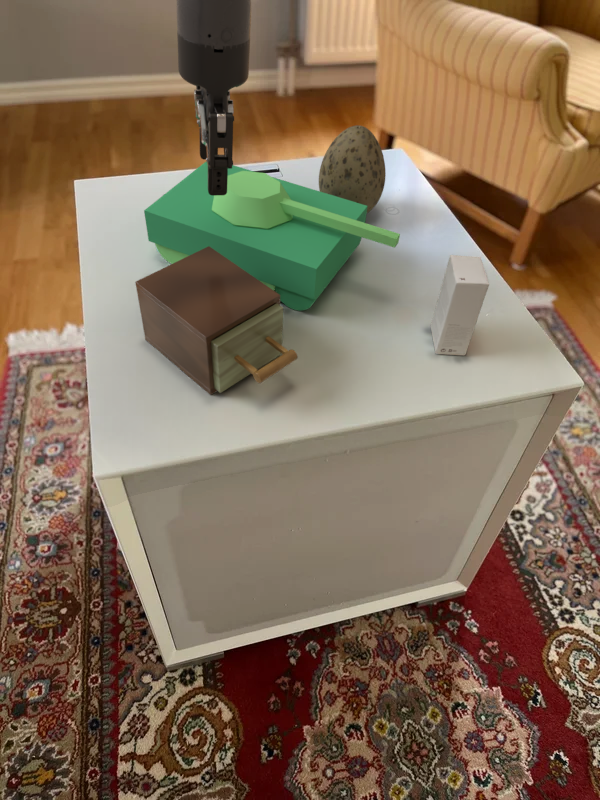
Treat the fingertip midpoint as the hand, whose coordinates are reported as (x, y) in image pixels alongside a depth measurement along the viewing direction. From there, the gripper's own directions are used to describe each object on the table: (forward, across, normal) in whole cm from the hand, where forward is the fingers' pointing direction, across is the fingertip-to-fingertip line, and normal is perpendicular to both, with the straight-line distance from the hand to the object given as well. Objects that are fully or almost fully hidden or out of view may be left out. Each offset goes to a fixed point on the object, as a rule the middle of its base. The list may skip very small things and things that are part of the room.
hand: (212, 175), depth 78 cm
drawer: (+18, +14, +1) cm, 22 cm away
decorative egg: (+18, -19, +25) cm, 36 cm away
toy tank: (+18, -6, +11) cm, 23 cm away
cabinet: (+19, +10, -1) cm, 21 cm away
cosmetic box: (+17, +14, +31) cm, 38 cm away
